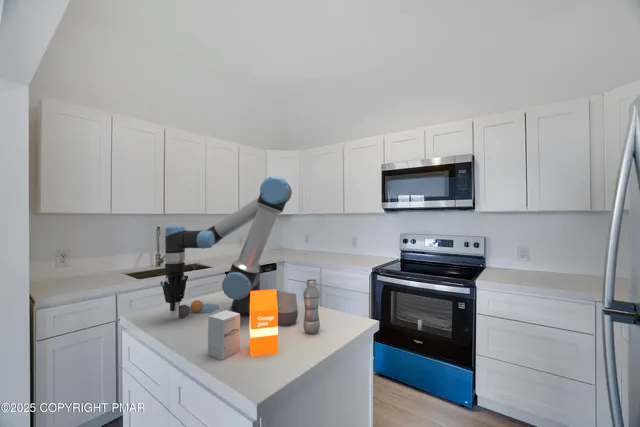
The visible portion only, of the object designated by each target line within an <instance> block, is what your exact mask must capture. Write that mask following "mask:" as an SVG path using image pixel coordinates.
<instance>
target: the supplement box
mask: <svg viewBox="0 0 640 427" xmlns="http://www.w3.org/2000/svg"><path fill="white" fill-rule="evenodd" d="M207 317H208V319H207V320H208V322H207V323H208V325H207V354H208V355H209V356H210V357H213V358H216V359H219V360H221V361H224V360H225V359H226V358H228V357H231V356H232V355H234V354H236V353H238V352H240V350H241V349H240V348H241V316H240V314H239V313H236V312H231V310H226V309H225V310H223V311H220V312H218V313H214V314H211V315H209V316H207Z"/></svg>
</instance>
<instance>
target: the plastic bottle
mask: <svg viewBox="0 0 640 427" xmlns="http://www.w3.org/2000/svg"><path fill="white" fill-rule="evenodd" d="M306 286H307V287H306V288H305V289H304V290H303V295H302V296H303V302H304V319H303V324H302V325H303V330H304V332H305V333H307V334H316V333H318V332H319V330H320V327H321V326H320V325H321V323H320V318H319V317H320V316H319V303H320V291H319V289H318V288H317V280H316V279H307V280H306Z"/></svg>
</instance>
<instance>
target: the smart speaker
mask: <svg viewBox="0 0 640 427" xmlns="http://www.w3.org/2000/svg"><path fill="white" fill-rule="evenodd" d="M276 294H277V307H278V325H281V326H285V327H286V326H292V325H294V324H295V323H296V322H297V320H298V316H299V315H298V314H299V312H298V302H297V293H295V292H290V291H282V290H276Z"/></svg>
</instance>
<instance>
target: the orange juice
mask: <svg viewBox="0 0 640 427" xmlns="http://www.w3.org/2000/svg"><path fill="white" fill-rule="evenodd" d="M278 325H279V324H278V307H277V289H276V288H274V289H260V290H258V291H251V292H250V316H249V352H250V357H257V356H263V355H271V354H278V353H279V343H278V342H279V326H278Z"/></svg>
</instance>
